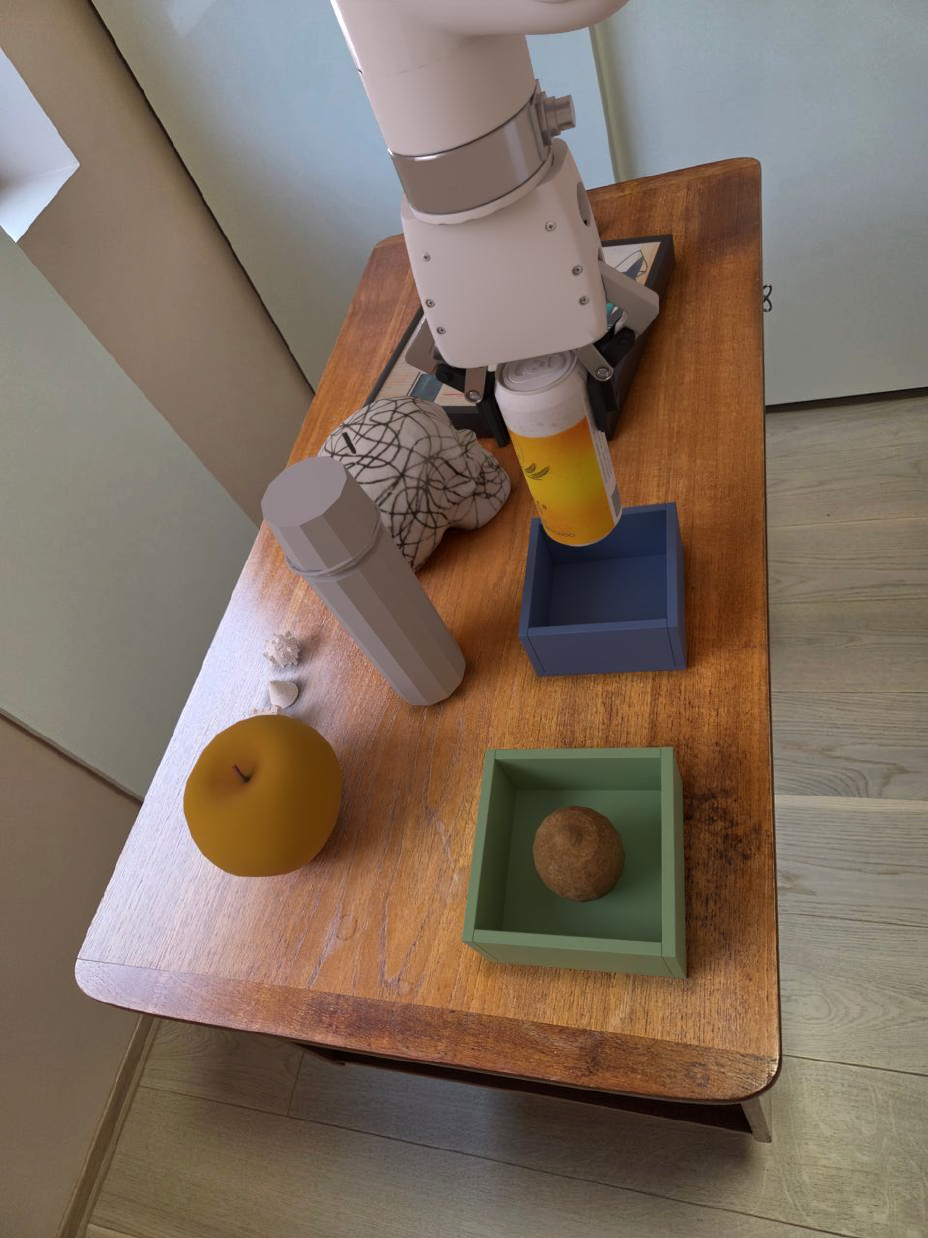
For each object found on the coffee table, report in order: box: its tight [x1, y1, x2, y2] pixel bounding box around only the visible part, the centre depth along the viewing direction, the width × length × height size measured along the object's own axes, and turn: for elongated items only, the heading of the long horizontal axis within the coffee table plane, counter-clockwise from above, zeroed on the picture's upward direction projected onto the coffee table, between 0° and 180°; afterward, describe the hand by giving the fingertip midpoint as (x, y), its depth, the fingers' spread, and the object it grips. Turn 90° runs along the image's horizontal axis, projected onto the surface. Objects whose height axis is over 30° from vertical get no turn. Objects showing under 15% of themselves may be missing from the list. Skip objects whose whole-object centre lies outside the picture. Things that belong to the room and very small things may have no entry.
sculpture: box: [315, 396, 512, 574], centre depth 77 cm, size 15×20×15 cm
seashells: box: [247, 629, 301, 718], centre depth 75 cm, size 12×3×3 cm, turn 0°
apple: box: [182, 714, 344, 878], centre depth 63 cm, size 13×13×11 cm
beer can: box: [494, 350, 623, 546], centre depth 54 cm, size 6×6×15 cm
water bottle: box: [260, 456, 467, 707], centre depth 63 cm, size 9×8×25 cm
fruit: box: [533, 805, 625, 903], centre depth 53 cm, size 6×6×8 cm
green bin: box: [461, 746, 687, 979], centre depth 54 cm, size 14×14×7 cm
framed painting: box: [360, 233, 677, 442], centre depth 93 cm, size 30×4×30 cm
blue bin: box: [517, 501, 688, 677], centre depth 67 cm, size 13×13×7 cm
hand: (554, 423), depth 52 cm, fingers closed on beer can, 6 cm apart
